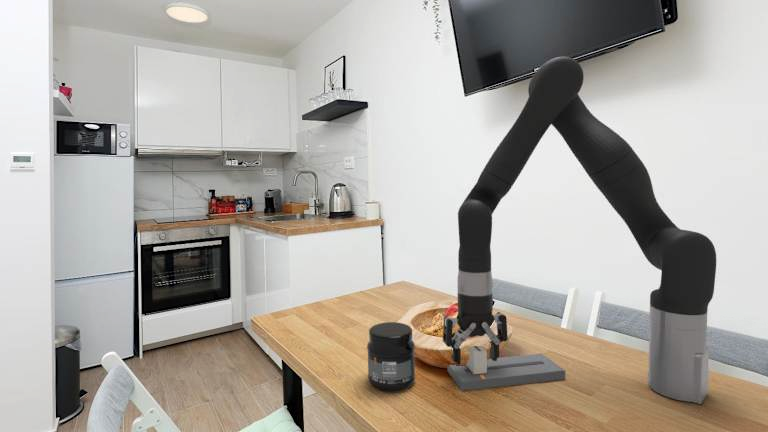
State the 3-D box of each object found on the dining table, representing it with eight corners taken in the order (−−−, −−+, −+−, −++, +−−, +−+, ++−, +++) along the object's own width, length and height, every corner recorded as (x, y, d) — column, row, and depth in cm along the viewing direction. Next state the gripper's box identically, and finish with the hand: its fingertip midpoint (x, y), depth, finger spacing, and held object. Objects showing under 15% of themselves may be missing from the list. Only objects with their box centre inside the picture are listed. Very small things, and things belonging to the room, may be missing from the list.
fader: (477, 362, 87) (477, 341, 87) (486, 372, 82) (486, 350, 82) (465, 364, 87) (464, 342, 86) (473, 374, 82) (473, 351, 81)
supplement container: (398, 366, 91) (397, 318, 90) (425, 385, 82) (424, 331, 81) (359, 378, 86) (358, 327, 85) (383, 400, 77) (382, 342, 76)
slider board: (541, 361, 92) (541, 352, 92) (565, 379, 83) (565, 369, 83) (447, 371, 88) (447, 362, 88) (461, 391, 79) (461, 381, 79)
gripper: (497, 284, 88) (497, 351, 89) (438, 287, 86) (439, 357, 87) (513, 292, 81) (513, 365, 82) (449, 296, 78) (450, 372, 79)
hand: (475, 361), depth 84 cm, fingers open, 8 cm apart
